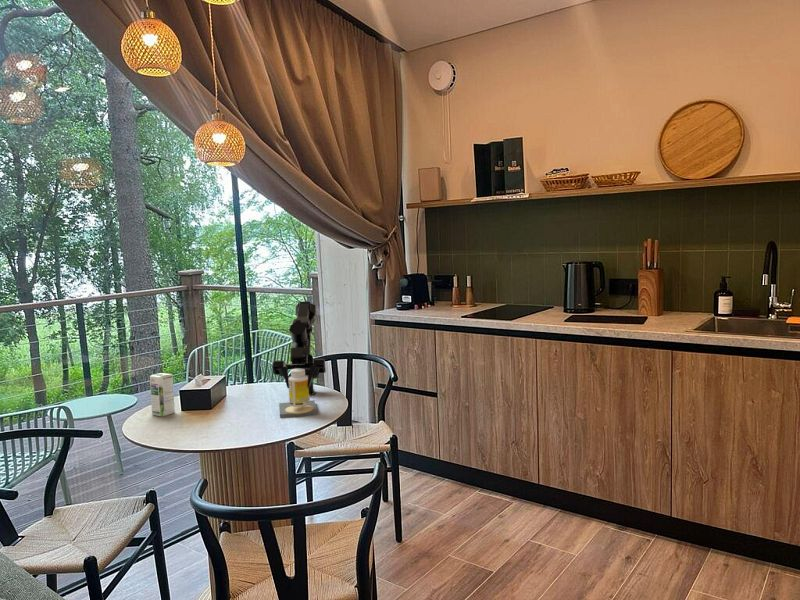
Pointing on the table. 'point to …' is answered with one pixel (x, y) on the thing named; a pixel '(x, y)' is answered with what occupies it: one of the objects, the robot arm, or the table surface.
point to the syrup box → (162, 394)
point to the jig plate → (297, 409)
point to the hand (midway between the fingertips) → (298, 387)
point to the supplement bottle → (298, 388)
